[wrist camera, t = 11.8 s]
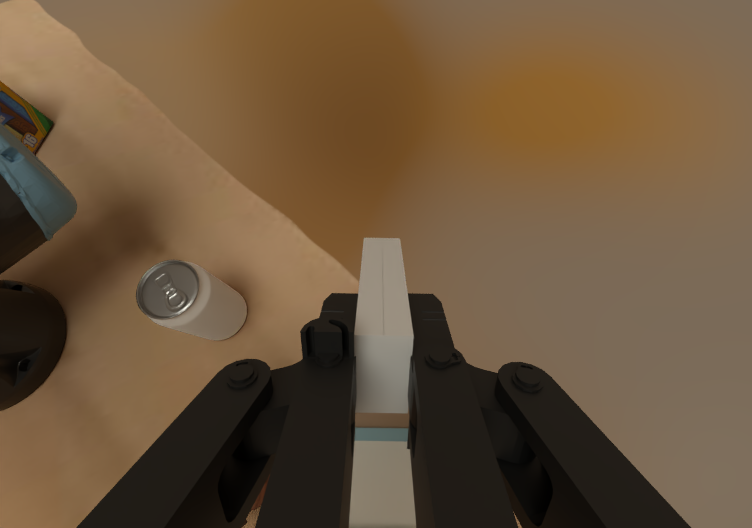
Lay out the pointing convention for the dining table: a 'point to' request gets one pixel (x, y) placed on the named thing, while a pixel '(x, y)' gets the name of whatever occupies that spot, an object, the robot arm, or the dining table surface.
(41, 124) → the chalk box
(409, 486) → the carton
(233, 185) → the dining table surface
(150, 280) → the can
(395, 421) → the flap
